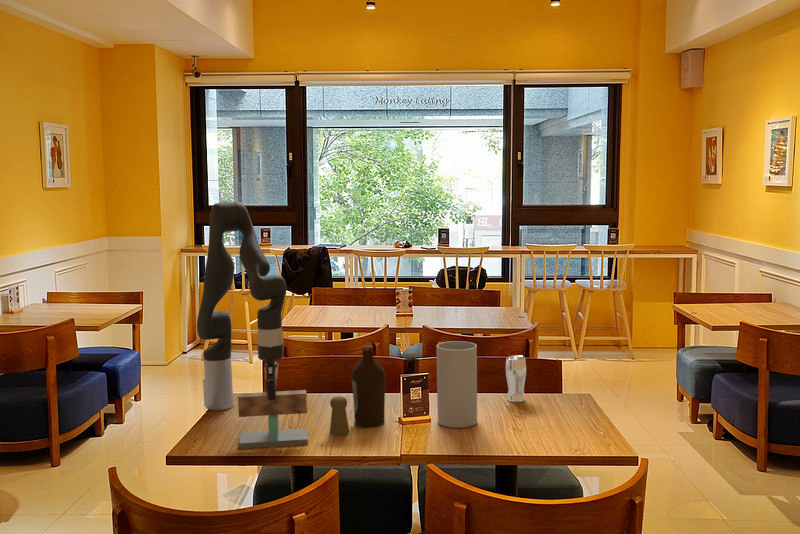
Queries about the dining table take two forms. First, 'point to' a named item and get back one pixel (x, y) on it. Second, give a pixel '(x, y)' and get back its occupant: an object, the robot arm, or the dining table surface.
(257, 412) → the walnut bar
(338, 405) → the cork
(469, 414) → the cylinder vase
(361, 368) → the olive oil
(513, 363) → the beer glass
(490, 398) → the dining table surface
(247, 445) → the balance stand
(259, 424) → the dining table surface
